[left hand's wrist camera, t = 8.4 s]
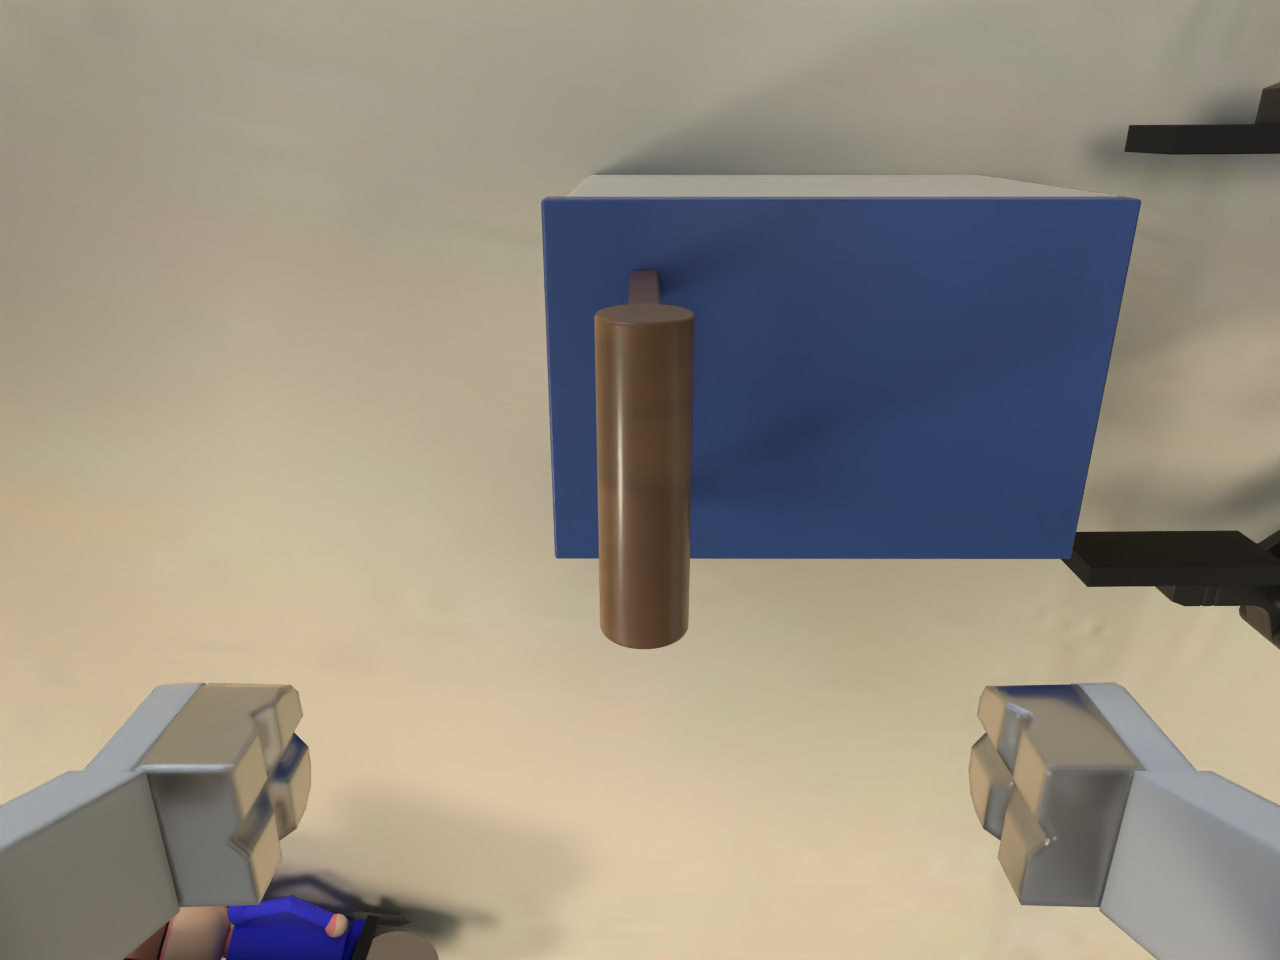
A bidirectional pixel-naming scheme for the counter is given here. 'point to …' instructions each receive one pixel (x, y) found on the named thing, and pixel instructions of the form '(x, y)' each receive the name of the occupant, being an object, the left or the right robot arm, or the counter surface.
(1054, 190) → the chest
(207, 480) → the counter surface
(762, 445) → the lid
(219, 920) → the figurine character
